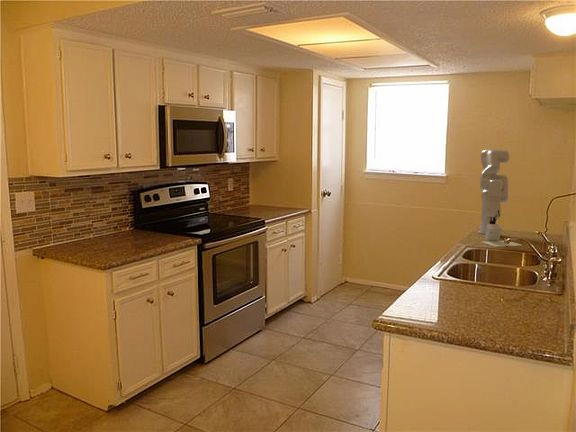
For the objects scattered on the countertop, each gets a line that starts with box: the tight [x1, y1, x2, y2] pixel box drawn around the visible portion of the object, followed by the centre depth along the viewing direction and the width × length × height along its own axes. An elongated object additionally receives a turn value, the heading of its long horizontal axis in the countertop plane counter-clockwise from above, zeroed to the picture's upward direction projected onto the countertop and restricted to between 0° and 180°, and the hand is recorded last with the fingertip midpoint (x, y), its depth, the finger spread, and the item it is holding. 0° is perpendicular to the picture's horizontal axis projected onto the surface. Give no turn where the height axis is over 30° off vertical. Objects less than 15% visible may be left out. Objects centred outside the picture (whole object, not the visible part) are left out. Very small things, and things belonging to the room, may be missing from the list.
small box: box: [484, 223, 503, 242], centre depth 323 cm, size 8×6×10 cm
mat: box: [480, 240, 524, 248], centre depth 315 cm, size 15×19×1 cm
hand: (492, 227), depth 325 cm, fingers closed
